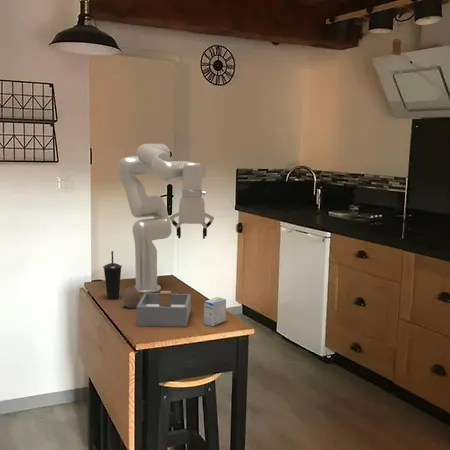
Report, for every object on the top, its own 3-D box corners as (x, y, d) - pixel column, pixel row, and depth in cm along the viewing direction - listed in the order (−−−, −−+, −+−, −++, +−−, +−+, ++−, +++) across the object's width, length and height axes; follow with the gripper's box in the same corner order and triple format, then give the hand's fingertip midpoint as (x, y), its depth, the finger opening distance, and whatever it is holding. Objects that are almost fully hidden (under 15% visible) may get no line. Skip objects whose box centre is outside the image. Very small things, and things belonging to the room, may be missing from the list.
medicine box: (216, 318, 212) (216, 296, 211) (226, 321, 210) (226, 298, 208) (203, 324, 206) (203, 301, 205) (213, 326, 203) (213, 303, 202)
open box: (144, 310, 221) (144, 293, 220) (190, 311, 221) (190, 294, 220) (136, 325, 203) (136, 306, 202) (186, 326, 203) (186, 307, 202)
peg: (160, 316, 214) (160, 291, 213) (171, 316, 214) (171, 291, 213) (159, 319, 210) (159, 293, 209) (169, 320, 210) (169, 294, 209)
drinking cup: (106, 295, 242) (105, 249, 239) (123, 295, 242) (123, 249, 239) (101, 300, 234) (100, 252, 231) (120, 300, 234) (119, 253, 231)
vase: (141, 304, 230) (141, 283, 228) (139, 309, 223) (139, 287, 221) (124, 304, 229) (123, 283, 228) (121, 309, 223) (121, 287, 221)
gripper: (214, 193, 222) (214, 236, 225) (170, 193, 223) (170, 236, 225) (213, 195, 215) (213, 240, 218) (168, 195, 215) (168, 239, 218)
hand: (191, 237), depth 221 cm, fingers open, 9 cm apart
